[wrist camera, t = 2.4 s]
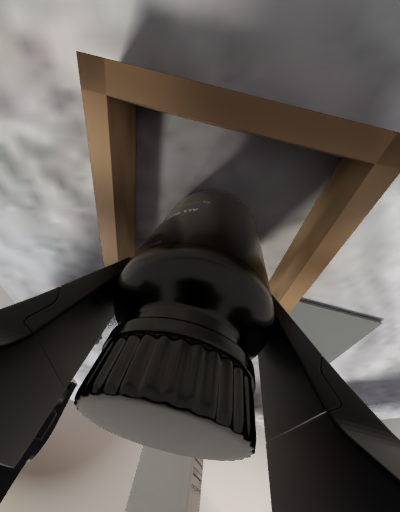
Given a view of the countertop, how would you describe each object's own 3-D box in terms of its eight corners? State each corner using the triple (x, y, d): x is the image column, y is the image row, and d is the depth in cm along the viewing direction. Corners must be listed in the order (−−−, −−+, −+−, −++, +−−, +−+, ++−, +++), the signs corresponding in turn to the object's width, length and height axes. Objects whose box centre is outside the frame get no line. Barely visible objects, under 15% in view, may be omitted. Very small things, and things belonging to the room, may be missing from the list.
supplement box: (168, 411, 40) (140, 532, 28) (156, 394, 36) (116, 530, 23) (208, 417, 38) (196, 550, 26) (201, 399, 34) (183, 551, 21)
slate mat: (323, 364, 22) (324, 367, 22) (251, 345, 22) (251, 348, 22) (379, 320, 17) (381, 323, 17) (286, 296, 17) (287, 298, 17)
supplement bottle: (187, 170, 12) (-9, 309, 2) (273, 213, 13) (410, 462, 3) (160, 246, 16) (42, 423, 6) (228, 277, 17) (221, 479, 7)
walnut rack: (269, 304, 18) (275, 330, 15) (123, 265, 18) (106, 286, 15) (377, 139, 10) (425, 139, 7) (115, 72, 10) (76, 50, 8)
